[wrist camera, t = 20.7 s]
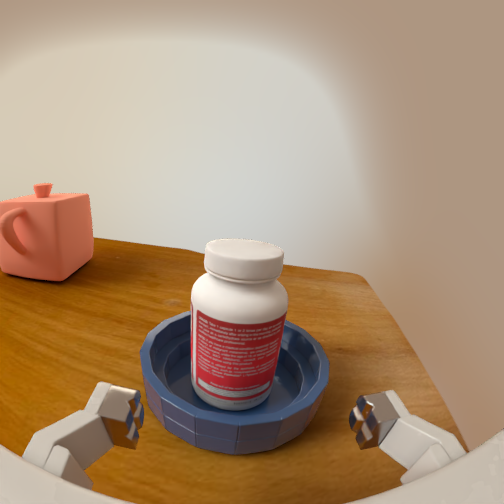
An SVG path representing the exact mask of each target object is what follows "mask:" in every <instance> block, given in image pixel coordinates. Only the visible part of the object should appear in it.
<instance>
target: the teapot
mask: <svg viewBox="0 0 504 504" xmlns="http://www.w3.org/2000/svg"><path fill="white" fill-rule="evenodd" d="M51 188H52V184H51V183H42V184H36V185H34V191H35V194H34V195H28V196H23V197H18V198H14V199H10V200H6V201H2V202H0V266H1V269H2V271H3V272H5V273H8V274H12V275H17V276H22V277H27V278H34V279H42V280H51V281H63V280H65V279H66V278H67V277H69V276H70V275H71V274H72V273H74V272H75V271H76V270H78V269H79V268H80V267H81V266H83V265H84V264H85V263H86V262H87V261H89V260H90V259H91V258H92V255H93V231H92V230H93V229H92V218H91V209H90V201H89V195H88V194H80V193H79V194H78V193H77V194H76V193H75V194H74V193H73V194H72V193H71V194H70V193H68V194H67V193H62V194H61V193H60V194H50V191H51Z"/></svg>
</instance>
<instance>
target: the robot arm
mask: <svg viewBox="0 0 504 504" xmlns="http://www.w3.org/2000/svg"><path fill="white" fill-rule="evenodd" d="M140 398H141V395H140V391H138V390H135V389H130V388H126V387H122V386H118V385H114V384H109V383H105V382H102V381H101V382H99V383H98V384H97V386H96V388H95V390H94V392H93V393H92V395H91V397H90V399H89V401H88V403H87V405H86V407H85V409H84V411H83V410H79V411H77V412H75V413H73V414H71V415H69V416H68V417H66V418H64V419H62V420H60V421H58V422H56V423H54V424H52V425H50V426H48V427H46V428H44V429H42V430H40V431H38V432H36V433H35V434H34V435H33V437H32V439H31V441H30V443H29V444H28V446H27V448H26V450H25V452H24V454H23V456H22V458H21V457H20V456H18V455H16V454H15V453H13V452H11V451H10V450H8V449H7V448H5V447H4V446H2V445H1V444H0V504H136V503H131V502H128V501H124V500H120V499H117V498H113V497H110V496H107V495H104V494H101V493H98V492H95V491H92V486H93V482H92V480H91V479H90V478H89V477H88V475H87V474H86V473H85V472H84V470H85V469H86V468H88V467H89V466H90V465H91V464H93V463H94V462H95V461H96V460H98V459H99V458H100V457H101V456H103V455H104V454H105V453H106V452H107V451H109V450H110V449H111V448H112V447H114V445H116V446H120V447H125V448H129V449H134V450H136V446H137V443H138V439H139V434H138V431H137V430H139V429H140V428H142V424H143V419H144V409H143V405H142V404H141V403H140V402H139V401H140ZM356 403H357V406H356V407H355V408H353V409H352V411H351V413H350V417H349V423H350V427H351V429H352V431H354V432H355V433H357V435H356V438H355V439H356V441H357V443H358V445H359V448H360V450H363V449H368V448H373V447H377V446H379V448H380V449H381V450H383V451H384V452H385V453H386V454H388V455H389V456H390V457H392V458H393V459H394V460H396V461H397V462H398V463H400V464H401V465H402V466H404V467H405V468H406V469H408V470H407V471H406V472H405V473H404V474H403V475H402V476H401V478H400V480H401V482H402V486H399V487H397V488H394V489H391V490H388V491H386V492H383V493H380V494H377V495H373V496H370V497H367V498H363V499H360V500H356V501H352V502H348V503H344V504H504V429H502V430H501V431H500V432H498V433H497V434H496V435H494V436H493V437H491V438H490V439H489V440H487V441H486V442H484V443H483V444H481V445H480V446H478V447H477V448H475V449H474V450H472V451H470V452H469V453H466V451H465V450H464V448H463V447H462V445H461V444H460V443H459V441H458V440H457V438H456V437H455V435H454V434H452V433H450V432H448V431H445V430H443V429H441V428H439V427H437V426H435V425H433V424H431V423H429V422H427V421H425V420H423V419H421V418H420V417H418V416H416V415H414V414H413V415H411V414H410V413H409V411H408V410H407V408H406V407H405V405H404V404H403V402H402V401H401V399H400V398H399V397H398V395H397V394H396V392H395V391H393V390H389V391H384V392H378V393H372V394H366V395H361V396H359V397H358V399H357V401H356Z"/></svg>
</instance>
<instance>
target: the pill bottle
mask: <svg viewBox="0 0 504 504" xmlns="http://www.w3.org/2000/svg"><path fill="white" fill-rule="evenodd" d="M283 257H284V252H283V250H282V249H280V248H279V247H277V246H275V245H272V244H268V243H264V242H260V241H254V240H247V239H232V238H229V239H228V238H227V239H217V240H212V241H210V242H208V243H207V245H206V249H205V259H204V265H205V270H206V271H207V272H208V273H206V274H204V275H202V276H201V277H200V278H199V279H198V280H197V281H196V282H195V284H194V285H193V288H192V293H191V380H192V385H193V388H194V390H195V392H196V393H197V395H198V396H199V397H200V398H201V399H202V400H203V401H205V402H206V403H208V404H209V405H211V406H213V407H215V408H219V409H223V410H230V411H239V410H246V409H250V408H252V407H255V406H257V405H259V404H260V403H262V402H263V401H264V400H265V399H266V398H267V397H268V395H269V393H270V391H271V388H272V384H273V380H274V375H275V370H276V366H277V361H278V355H279V351H280V346H281V341H282V336H283V330H284V324H285V319H286V314H287V307H288V295H287V292H286V290H285V288H284V287H283V285H282V284H281V283H280V282H279V281H277V280H276V279H277V278H279V276H280V274H281V272H282V269H283Z"/></svg>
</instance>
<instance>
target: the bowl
mask: <svg viewBox="0 0 504 504" xmlns="http://www.w3.org/2000/svg"><path fill="white" fill-rule="evenodd" d="M140 358H141V366H142V373H143V379H144V384H145V390H146V395H147V400H148V405H149V408H150V409H151V410H152V412H153V413H154V414H155V416H156V417H157V418H158V420H159V421H160V422H161V423H162V425H163V426H164V427H165V428H166V429H167V430H168V431H169V432H171V433H173V434H174V435H176V436H178V437H179V438H181V439H183V440H184V441H186V442H188V443H190V444H191V445H193V446H195V447H198V448H201V449H206V450H211V451H216V452H221V453H227V454H233V455H239V454H247V453H255V452H261V451H268V450H272V449H275V448H277V447H278V446H280V445H282V444H284V443H286V442H288V441H290V440H291V439H293V438H295V437H297V436H298V435H300V434H301V433H302V432H303V431H304V429H305V428H306V427H307V426H308V424H309V423H310V422H311V420H312V419H313V417H314V416H315V415H316V412H317V410H318V408H319V405H320V403H321V400H322V397H323V395H324V392H325V390H326V387H327V384H328V379H329V365H330V363H329V360H328V358H327V356H326V354H325V352H324V350H323V348H322V346H321V345H320V343H319V342H317V341H316V340H315V339H314V338H313V337H312V336H311V335H310V334H309V333H308V332H306V331H305V330H304V329H302V328H300V327H299V326H297V325H295V324H293V323H291V322H289V321H287V320H285V324H284V330H283V336H282V341H281V346H280V351H279V355H278V361H277V366H276V370H275V375H274V380H273V384H272V388H271V391H270V393H269V395H268V397H267V398H266V399H265V400H264V401H263V402H262V403H260V404H259V405H257V406H255V407H252V408H250V409H246V410H239V411H230V410H223V409H219V408H215V407H213V406H211V405H209V404H208V403H206V402H205V401H203V400H202V399H201V398H200V397H199V396H198V395H197V393H196V392H195V390H194V388H193V385H192V380H191V311H187V312H184V313H181V314H179V315H176V316H174V317H171V318H169V319H166V320H164V321H162V322H161V323H160V324H159V325H158V326H156V327H155V328H154V329H153V330H151V331H150V332H149V333H148V334H147V337H146V339H145V341H144V343H143V345H142V347H141V350H140Z"/></svg>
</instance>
